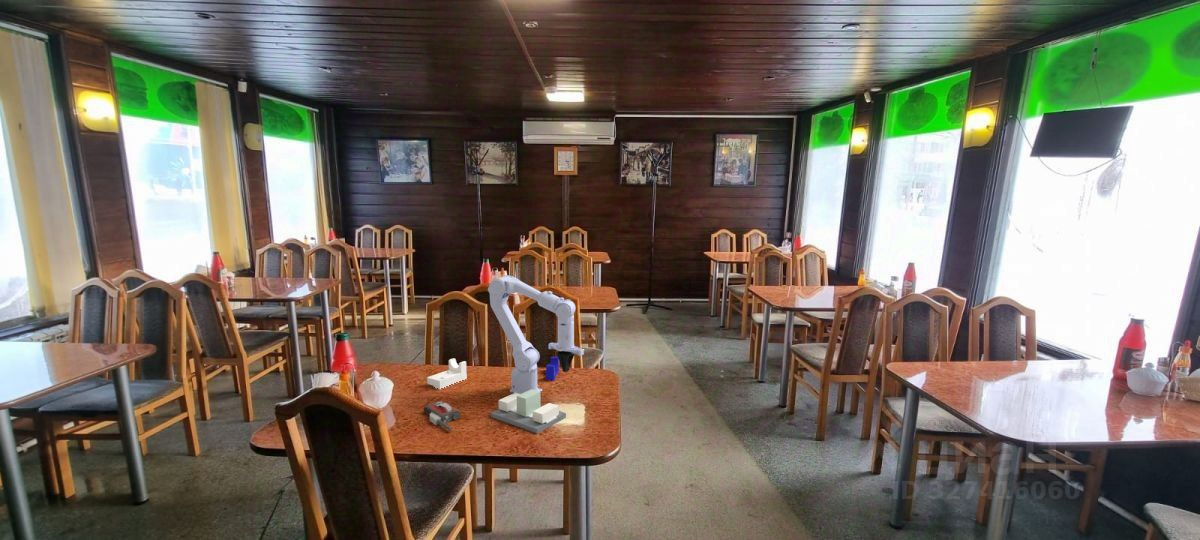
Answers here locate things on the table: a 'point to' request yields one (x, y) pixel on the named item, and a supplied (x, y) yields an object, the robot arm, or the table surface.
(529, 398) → the module block
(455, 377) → the bracket
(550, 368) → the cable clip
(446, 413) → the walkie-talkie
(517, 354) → the robot arm
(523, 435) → the table surface
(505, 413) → the mounting plate
